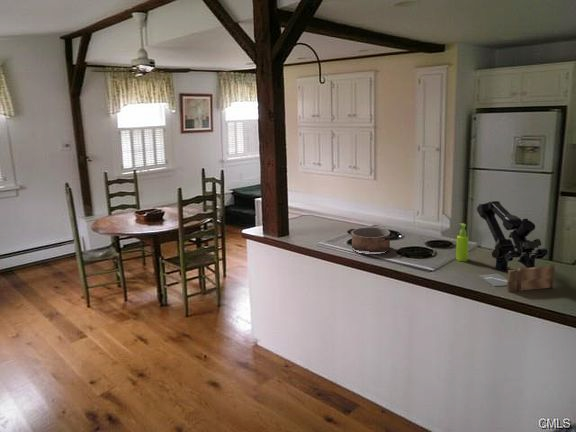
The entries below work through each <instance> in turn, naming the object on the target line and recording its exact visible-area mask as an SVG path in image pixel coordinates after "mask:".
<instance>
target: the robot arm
mask: <svg viewBox="0 0 576 432" xmlns="http://www.w3.org/2000/svg"><path fill="white" fill-rule="evenodd" d="M476 211H477V214H478V215H479V217H480V218H482V219H483V220H485V222H486V223H487V226H488V228H489V230H490V233H491V235H492V237H493V240H494V242H495V245H494V249H493V251H491V256H492V258H494V259H495V266H493V267H492V269H493V270H497V271H501V272H508V270H511V267H510V266H509V262H512V261H513V260H514V259H515V258H518V260H517V262H518V263H521V264H522V265H524V267H525V268H533V267H536V266H535V265H536V263H535V262H536V260H540V259H541V260H542V259H544V258H545V257H546V256H548V254H549V250H548V249H547V248H546V247H545V248H539V247H540V246H542V242H541V239H540V238H536V239H534V240H529V239H527V237H528V236H529V235H531V233H533V232H534V231H535V230H536V225H535V223H534V222H532V221H531V220H529V219H528V218H523V219H521V218H520V217H518V216H517V215H513V214H511V213H510V212H509V211H508V210H507V209H506V208H505V207H504V206H503V205H502V204H501V202H500V200H499V201H498V200H494V201H492V200H491V201H488V202H486V203H479V204H478V206H477V207H476ZM495 215H496V216H497V217H498V218H499V219H500V220H501V221H502V225H503V227H504V229H505V230H506V231H510V233H509V235H508V238H506V236H505V235H504V233H503V231H502V228H501V227H500V224H499V222H498V220H497V218H496V216H495ZM512 241H513V242H512ZM513 243H514V244H513ZM536 248H537V249H536ZM535 249H536V250H535Z"/></svg>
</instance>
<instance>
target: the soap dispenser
mask: <svg viewBox="0 0 576 432" xmlns="http://www.w3.org/2000/svg"><path fill="white" fill-rule="evenodd" d="M458 225H460V226H461V228H460V229H459V235H456V246H455V247H456V249H455V251H456V253H455V260H456V259H457V260H456V261H457V262H467V261H468V254H469V238H470V237H469V236H468V235H467V230H466V227H467V224H466V223H462V222H461V223H458Z"/></svg>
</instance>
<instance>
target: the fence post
mask: <svg viewBox="0 0 576 432" xmlns="http://www.w3.org/2000/svg"><path fill="white" fill-rule="evenodd" d="M522 268H523V267H517V269H509V270H507V272H508V273H507V280H508V283H507V286H506V291H507V292H508V293H510V292H511V293H513V292H522V290H521V284H522V273H523V269H522Z"/></svg>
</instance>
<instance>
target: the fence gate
mask: <svg viewBox="0 0 576 432" xmlns="http://www.w3.org/2000/svg"><path fill="white" fill-rule="evenodd" d="M555 267H556V266H555V265H554V264H551V265H547V266H535V267H533V268H527V267H524V268H523V267H521V268H522V269H523V273H522V284H521V291H528V290H538V289H547V288H548V289H550V288H552V289H553V287H554V276H555Z"/></svg>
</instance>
